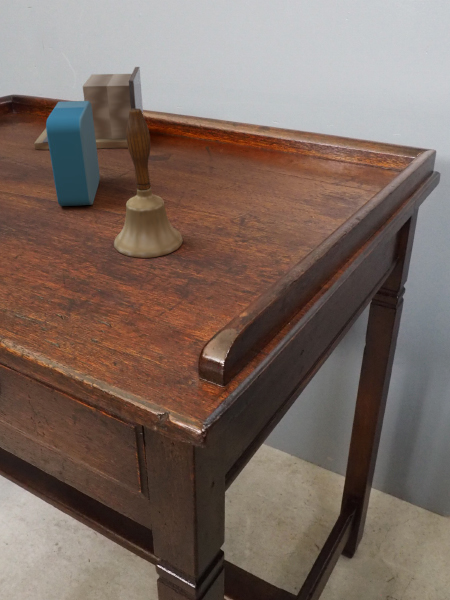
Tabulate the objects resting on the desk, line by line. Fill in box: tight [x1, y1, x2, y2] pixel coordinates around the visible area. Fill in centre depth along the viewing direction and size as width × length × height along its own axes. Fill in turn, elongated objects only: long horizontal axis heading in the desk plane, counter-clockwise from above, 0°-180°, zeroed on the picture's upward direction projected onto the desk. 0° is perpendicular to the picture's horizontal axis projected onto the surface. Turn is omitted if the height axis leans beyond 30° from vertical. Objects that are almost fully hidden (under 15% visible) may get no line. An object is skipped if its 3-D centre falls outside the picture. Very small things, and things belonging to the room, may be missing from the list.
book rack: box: [33, 66, 144, 151], centre depth 110 cm, size 18×13×11 cm
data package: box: [45, 100, 101, 207], centre depth 86 cm, size 12×4×12 cm, turn 4°
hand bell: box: [113, 108, 184, 259], centre depth 71 cm, size 8×8×16 cm
